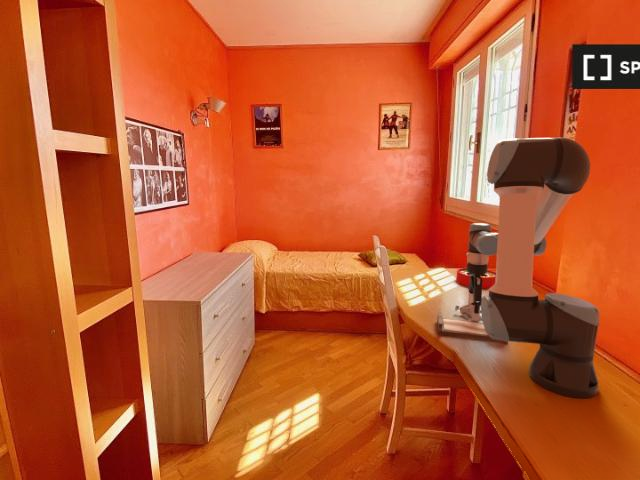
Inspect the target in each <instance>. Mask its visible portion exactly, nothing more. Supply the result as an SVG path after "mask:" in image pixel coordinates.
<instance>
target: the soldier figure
mask: <svg viewBox="0 0 640 480" xmlns="http://www.w3.org/2000/svg"><path fill="white" fill-rule="evenodd" d="M472 303H473V302H472ZM469 306H471V303H470V304H468V303H467V304H465V305H462V306H460V305H455V308H454V309H455V312H457V311H458V310H459V313H460V314H461V316H462V317H463V318H464V319H467V320H469V319H470V318H471V317H472V309H470V308H468V307H469ZM480 314H481V309H480ZM479 320H482V315H480V317H479Z"/></svg>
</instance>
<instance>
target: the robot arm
mask: <svg viewBox="0 0 640 480" xmlns="http://www.w3.org/2000/svg"><path fill="white" fill-rule="evenodd" d="M486 172H487V173H486V178H487V179H486V180H487V182H488V183H489V184H491V185H493V192H495V194H496V195H498V197H499V205H498V224H497V226H498V227H497V232H492V226H491V224H489V223H483V222H476V223H475V222H474V223H471V224H470V225H469V230H468V245H467V246H468V247H467V253H466V254H465V256H466V257H467V258H466V259H467V260H466V261H467V263H466V267H465V268H466V270H467V272H469V273H471V275H470V282H469V286H468V289H467V290H468V299H467V305H468V304H470V303H471V306H469V307H467V308H470V310H472V317H470V318H471V319H470V321H473V322H480V319H479V317H480V316H481V317H482V319H481V321H482V323H483V324H484V328H485V330H486V332H487V334H488V335H489V336H490V337H491V338H492V339H496V340H503V341H506V342H508V343H509V342H512V343H513V342H515V343H516V342H517V343H523V344H524V343H527V344H535V345H537V344H538V345H539V348H538V350H537V352H536V353H535V355H534V356H533V358H532V360H531V362H530V364H529V368H528V374H529V377H530V378H531V380H533V381H534V382H535V383H536V384H537V385H539V386H541V387H543V388H544V389H546V390H549V391H550V392H552V393H555V394H558V395H562V396H566V397H569V398H577V399H588V398H592V397H595V396H596V395H597V394H598V391H599V380H598V376H597V372H596V367H595V365H594V356H595V350H596V344H597V339H598V338H597V337H598V330H599V327H600V325H601V323H600V310H599V308H598V307H597V306H596V305H594V304H593V303H592V302H589V301H587V300H584V299H581V298H579V297H575V296H571V295H569V294H563V293H556V292H550V293H546V294H545V296H544V299H539V293H538V292H537V291H536V289H534V288H533V275H534V274H533V273H534V272H533V271H534V257H535V256H541V255H543V254H544V253H545V251H546V248H547V238H546V237H545V236H546V235H547V233H548V232H549V231H550V229H551V227H552V226H553V225H554V223H555V222H556V220H557V219H558V217H559V216H560V214H561V213H562V212H563V209H564V208H565V207H566V205H567V204H568V202H569V200H570V199H571V198H572V196H573V195H575V194H578V193H579V192H580V191H581V190H582V189H583V187H584V186H585V185H586V184H587V181H588V179H589V177H590V174H591V160H590V157H589V154H588V152H587V151H586V149H585V148H584V146H583V145H581V144H580V143H579V142H577V141H576V140H573V139H571V138H568V137H561V136H559V137H516V138H510V139H509V138H507V139H501V140H499V141H498V142H497V143H496V145H495V146H494V148H493V150H492V152H491V155H490V158H489V161H488V166H487V171H486ZM494 255H495V256H496V262H495V266H496V267H495V272H496V283H495V284H494V285H493V286H492V287H491V288H488V294H486V295H483V294H482V293H483V288H482V281H483V280H482V278H481V274H486V273H487V270H489V268H488V267H489V265H488V263H489V258H490V256H494ZM472 302H473V303H472ZM480 310H481V313H480Z"/></svg>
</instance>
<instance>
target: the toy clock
mask: <svg viewBox="0 0 640 480" xmlns="http://www.w3.org/2000/svg"><path fill="white" fill-rule="evenodd" d="M466 268H467V267H462V268H458V269H457V270H456V277H455V278H456V280H455V281H456V283H458V284H459V283H460V284H459V285H462V286H466V287H469V282H470V275H471V273H469V272H467V270H466ZM481 278H482V280H483V281H482V289H489V288H491V287H492V286H493V285H494V284H495V283H496V271H494V270H489V269H487V273H486V274H481Z"/></svg>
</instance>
